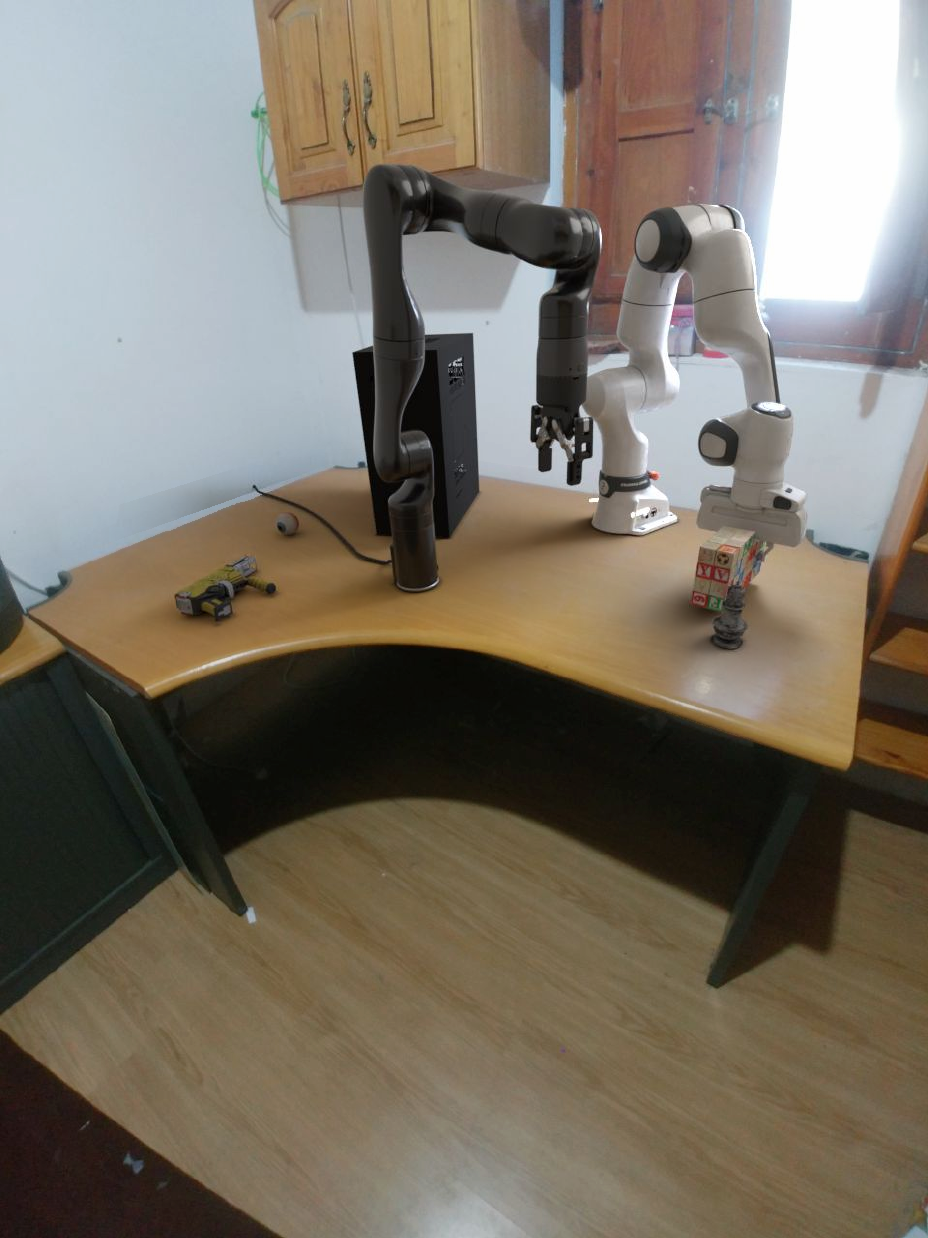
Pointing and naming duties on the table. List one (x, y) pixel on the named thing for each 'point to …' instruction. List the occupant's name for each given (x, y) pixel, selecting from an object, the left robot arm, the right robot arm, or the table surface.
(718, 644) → the grey chess piece
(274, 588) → the toy gun
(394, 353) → the left robot arm
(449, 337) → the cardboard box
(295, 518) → the eyeball
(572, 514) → the table surface
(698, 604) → the stack of blocks
